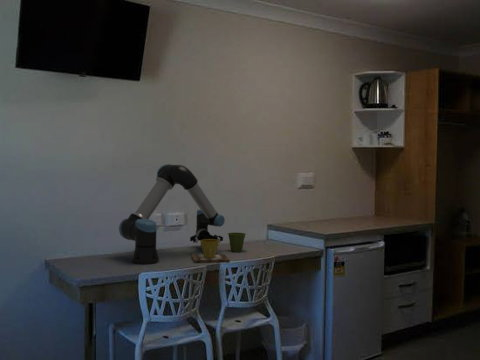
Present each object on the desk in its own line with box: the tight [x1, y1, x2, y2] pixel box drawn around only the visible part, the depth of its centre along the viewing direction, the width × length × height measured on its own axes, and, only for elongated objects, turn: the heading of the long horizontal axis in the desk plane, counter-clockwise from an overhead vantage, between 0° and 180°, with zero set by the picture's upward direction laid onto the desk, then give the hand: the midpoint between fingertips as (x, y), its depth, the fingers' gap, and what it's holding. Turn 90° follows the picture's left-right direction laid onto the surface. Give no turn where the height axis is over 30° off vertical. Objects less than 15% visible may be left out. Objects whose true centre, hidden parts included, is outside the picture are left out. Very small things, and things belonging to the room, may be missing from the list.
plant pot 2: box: [227, 231, 247, 253], centre depth 327 cm, size 12×12×11 cm
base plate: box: [191, 254, 231, 264], centre depth 296 cm, size 20×16×2 cm
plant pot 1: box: [200, 239, 219, 258], centre depth 296 cm, size 10×10×10 cm
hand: (208, 241), depth 305 cm, fingers open, 13 cm apart
